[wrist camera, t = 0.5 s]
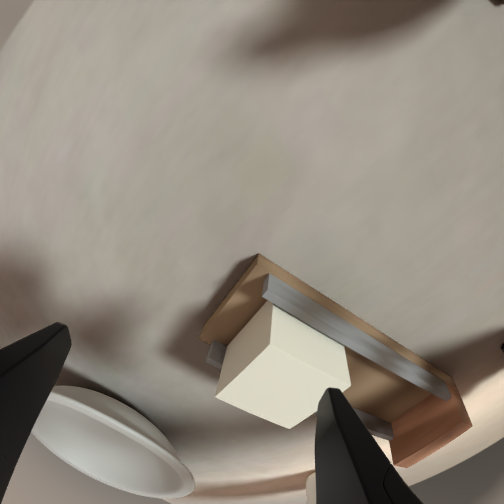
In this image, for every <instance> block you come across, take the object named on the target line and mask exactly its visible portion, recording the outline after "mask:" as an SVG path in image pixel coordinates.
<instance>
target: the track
mask: <svg viewBox="0 0 504 504" xmlns="http://www.w3.org/2000/svg"><path fill="white" fill-rule="evenodd" d="M267 300H268V301H270V302H272V303H273V304H275V305H277V306H278V307H280V308H282V309H283V310H285V311H287V312H288V313H290V314H292V315H294V316H295V317H297V318H299V319H300V320H302V321H304V322H305V323H307V324H309V325H311V326H312V327H314V328H316V329H317V330H319V331H321V332H323V333H324V334H326V335H328V336H329V337H331V338H333V339H335V340H336V341H338V342H340V343H342V344H343V345H344V349H345V354H346V360H347V365H348V371H349V376H350V382H351V386H350V387H349V388H347V389H346V390H345V391H344V392H342V393H343V394H344V396H345V397H346V399H347V400H348V402H349V403H350V404H351V406H352V407H353V409H354V410H355V412H356V413H357V415H358V416H359V418H360V419H361V420H362V422H363V423H364V425H365V426H366V428H367V429H368V431H369V432H370V434H371V435H374V436H377V437H380V438H383V439H386V440H389V443H390V448H391V453H392V459H393V464H394V465H395V466H400V467H405V468H408V467H410V466H412V465H413V464H415V463H417V462H419V461H420V460H422V459H424V458H425V457H427V456H429V455H430V454H432V453H434V452H435V451H437V450H438V449H440V448H442V447H443V446H445V445H446V444H448V443H449V442H451V441H452V440H454V439H455V438H457V437H458V436H459V435H461V434H462V433H464V432H465V431H467V430H468V429H469V428H471V427H472V423H471V421H470V418H469V416H468V413H467V411H466V408H465V406H464V403H463V401H462V399H461V396H460V394H459V392H458V389H457V387H456V385H455V383H454V380H453V378H452V377H450V376H448V375H447V374H445V373H444V372H442V371H441V370H439V369H438V368H436V367H435V366H433V365H432V364H430V363H428V362H427V361H425V360H424V359H422V358H421V357H419V356H418V355H416V354H414V353H413V352H411V351H410V350H408V349H407V348H405V347H404V346H402V345H401V344H399V343H397V342H396V341H394V340H393V339H391V338H390V337H388V336H387V335H385V334H384V333H382V332H380V331H379V330H377V329H376V328H374V327H373V326H371V325H370V324H368V323H366V322H365V321H363V320H362V319H360V318H359V317H357V316H356V315H354V314H352V313H351V312H349V311H348V310H346V309H345V308H343V307H342V306H340V305H339V304H337V303H335V302H334V301H332V300H331V299H329V298H328V297H326V296H325V295H323V294H321V293H320V292H318V291H317V290H315V289H314V288H312V287H311V286H309V285H307V284H306V283H304V282H303V281H301V280H300V279H298V278H297V277H295V276H293V275H292V274H290V273H289V272H287V271H286V270H284V269H282V268H281V267H279V266H278V265H276V264H275V263H273V262H272V261H270V260H268V259H267V258H265V257H264V256H262V255H261V254H258V256H257V257H256V258H255V259H254V261H253V262H252V263H251V265H250V266H249V267H248V269H247V270H246V271H245V273H244V274H243V275H242V277H241V278H240V279H239V280H238V282H237V283H236V284H235V286H234V287H233V288H232V290H231V291H230V292H229V293H228V295H227V296H226V297H225V299H224V300H223V301H222V303H221V304H220V305H219V307H218V308H217V309H216V310H215V312H214V313H213V314H212V316H211V317H210V318H209V320H208V321H207V322H206V323H205V325H204V326H203V328H202V331H201V334H200V337H199V339H201V340H202V341H204V342H206V343H208V344H209V345H210V348H209V351H208V355H207V358H206V361H205V362H206V363H208V364H210V365H212V366H214V367H216V368H217V369H219V370H221V369H222V365H223V361H224V357H225V353H226V349H227V346H228V345H229V344H230V342H231V341H232V340H233V339H234V338H235V337H236V336H237V335H238V333H239V332H240V331H241V330H242V329H243V328H244V327H245V326H246V324H247V323H248V322H249V321H250V320H251V319H252V318H253V316H254V315H255V314H256V313H257V312H258V311H259V310H260V308H261V307H262V306H263V305H264V304H265V303H266V301H267ZM314 414H317V411H316V412H315V413H314Z"/></svg>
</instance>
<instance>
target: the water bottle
mask: <svg viewBox="0 0 504 504" xmlns="http://www.w3.org/2000/svg"><path fill="white" fill-rule="evenodd" d="M306 495H307V502H306V504H316V474H315V472H314V473H312V474H311V475H310V476H309V477H308V478H307V480H306Z"/></svg>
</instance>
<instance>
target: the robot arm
mask: <svg viewBox="0 0 504 504" xmlns="http://www.w3.org/2000/svg"><path fill="white" fill-rule="evenodd" d="M70 348H71V338H70V333H69V329H68V327H67V325H65V324H62V323H60V322H56V323H54V324H52V325H50V326H48V327H45V328H43V329H41V330H39V331H37V332H35V333H33V334H31V335H29V336H27V337H25V338H23V339H21V340H19V341H17V342H14V343H12V344H10V345H8V346H6V347H4V348H2V349H0V504H1V502H2V499H3V497H4V494H5V491H6V489H7V486H8V484H9V481H10V478H11V476H12V474H13V471H14V469H15V466H16V464H17V462H18V459H19V457H20V455H21V452H22V450H23V448H24V446H25V444H26V441H27V439H28V437H29V435H30V433H31V431H32V429H33V426H34V424H35V422H36V420H37V418H38V416H39V414H40V412H41V410H42V408H43V406H44V404H45V402H46V401H47V399H48V397H49V395H50V393H51V391H52V389H53V387H54V385H55V383H56V381H57V379H58V377H59V374H60V372H61V370H62V367H63V365H64V362H65V360H66V358H67V355H68V353H69V351H70ZM501 349H502V351H503V352H504V344H503V345H502V347H501ZM315 474H316V504H423V503H422V502H421V501H420V499H419V498H418V497H417V496H416V495H415V494H414V493H413V492H412V490H411V489H410V488H409V487H408V486H407V484H406V483H405V482H404V481H403V479H402V478H401V477H400V475H399V474H398V472H397V471H396V470H395V468H394V467H393V465H392V464H390V461H389V460H388V458H387V457H386V455H385V454H384V452H383V451H382V450H381V448H380V447H379V445H378V444H377V442H376V441H375V439H374V438H373V436H372V435H371V434H370V432H369V431H368V429H367V428H366V426H365V425H364V423H363V422H362V420H361V419H360V418H359V416H358V415H357V413H356V412H355V410H354V409H353V407H352V406H351V404H350V403H349V402H348V400H347V399H346V397H345V396H344V394H343V393H342V391H341V390H340V389H338V388H331V387H328V388H327V389H326V390H325V392H324V394H323V396H322V397H321V399H320V401H319V403H318V408H317V422H316V435H315Z"/></svg>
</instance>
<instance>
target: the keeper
mask: <svg viewBox="0 0 504 504" xmlns="http://www.w3.org/2000/svg"><path fill="white" fill-rule="evenodd" d="M350 386H351V382H350V376H349V371H348V365H347V360H346V354H345V349H344V345H343V344H342V343H340V342H338V341H336V340H335V339H333V338H331V337H329V336H328V335H326V334H324V333H323V332H321V331H319V330H317V329H316V328H314V327H312V326H311V325H309V324H307V323H305V322H304V321H302V320H300V319H299V318H297V317H295V316H294V315H292V314H290V313H288V312H287V311H285V310H283V309H282V308H280V307H278V306H277V305H275V304H273V303H272V302H270V301H268V300H267V301H266V303H265V304H264V305H263V306H262V307H261V308H260V310H259V311H258V312H257V313H256V314H255V315H254V316H253V318H252V319H251V320H250V321H249V322H248V323H247V324H246V326H245V327H244V328H243V329H242V330H241V331H240V332H239V333H238V335H237V336H236V337H235V338H234V339H233V340H232V341H231V342H230V344H229V345H228V346H227V349H226V353H225V357H224V361H223V365H222V369H221V374H220V378H219V382H218V386H217V390H216V395H215V397H216V398H218V399H220V400H222V401H225V402H227V403H229V404H231V405H233V406H235V407H238V408H240V409H242V410H244V411H247V412H249V413H251V414H254V415H256V416H258V417H261V418H263V419H265V420H268V421H270V422H273V423H275V424H278V425H280V426H283V427H285V428H288V429H291V428H292V427H294V426H295V425H297V424H298V423H300V422H301V421H303V420H304V419H306V418H307V417H309V416H310V415H312V414H313V413H315V412H316V411H317V408H318V403H319V401H320V399H321V397H322V396H323V394H324V392H325V390H326V389H327V388H328V387H331V388H338V389H340V390H341V391H342V392H344V391H345V390H346V389H347V388H349V387H350Z"/></svg>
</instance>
